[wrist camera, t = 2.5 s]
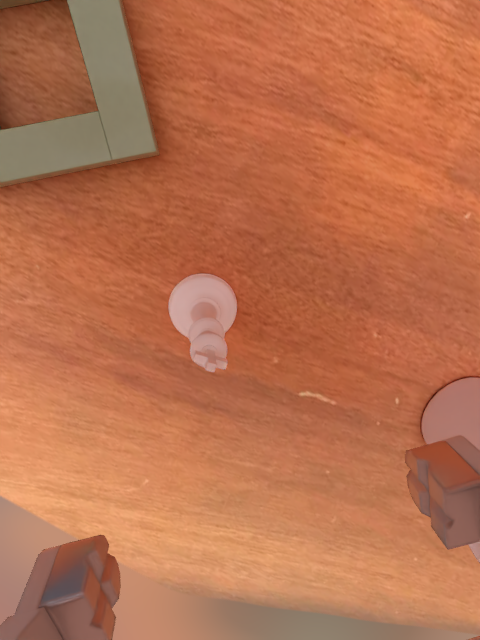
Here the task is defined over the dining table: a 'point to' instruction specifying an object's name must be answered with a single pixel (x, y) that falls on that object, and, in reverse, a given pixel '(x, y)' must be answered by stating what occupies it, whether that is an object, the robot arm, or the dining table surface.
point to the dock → (95, 127)
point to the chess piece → (204, 317)
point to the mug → (455, 418)
